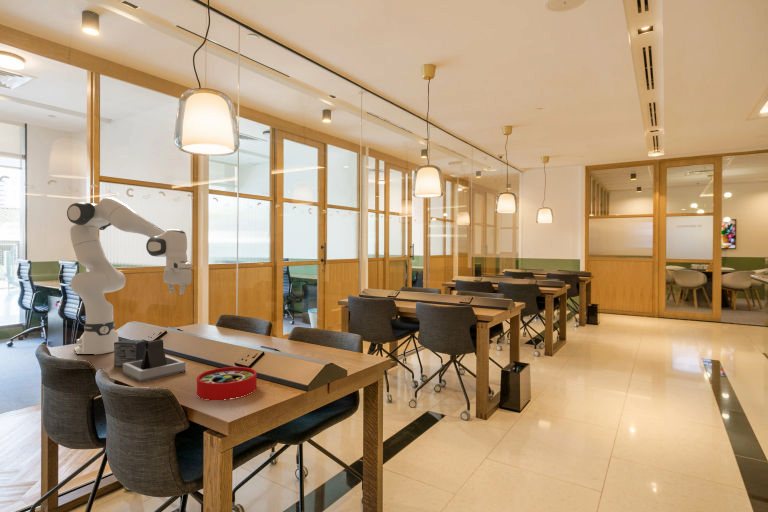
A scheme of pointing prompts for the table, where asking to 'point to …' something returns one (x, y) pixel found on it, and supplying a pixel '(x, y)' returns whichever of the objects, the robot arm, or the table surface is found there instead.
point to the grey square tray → (153, 369)
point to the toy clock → (226, 383)
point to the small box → (128, 351)
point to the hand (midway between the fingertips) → (176, 293)
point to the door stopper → (153, 355)
